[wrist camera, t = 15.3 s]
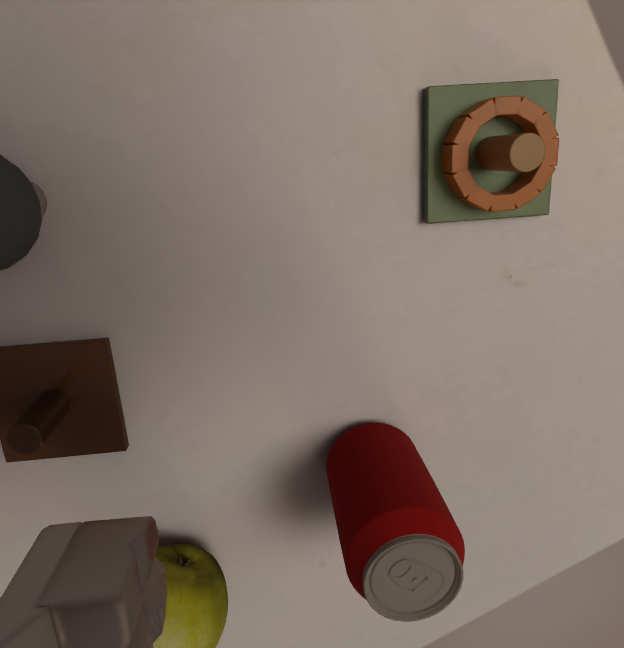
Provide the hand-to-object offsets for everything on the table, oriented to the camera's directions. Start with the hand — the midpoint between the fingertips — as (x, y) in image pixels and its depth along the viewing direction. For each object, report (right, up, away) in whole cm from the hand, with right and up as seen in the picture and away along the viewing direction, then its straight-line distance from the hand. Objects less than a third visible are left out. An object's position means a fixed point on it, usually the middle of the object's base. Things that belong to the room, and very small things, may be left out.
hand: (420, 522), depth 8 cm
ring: (+9, +13, +24) cm, 29 cm away
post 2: (+9, +14, +25) cm, 30 cm away
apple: (-12, -16, +33) cm, 38 cm away
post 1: (-19, -2, +27) cm, 33 cm away
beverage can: (+3, -7, +31) cm, 32 cm away
